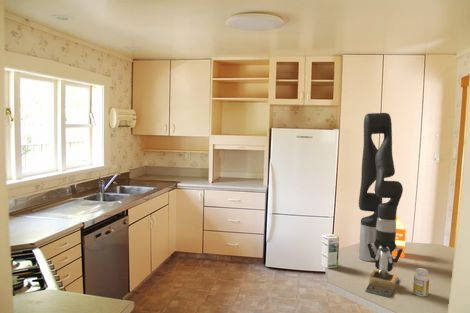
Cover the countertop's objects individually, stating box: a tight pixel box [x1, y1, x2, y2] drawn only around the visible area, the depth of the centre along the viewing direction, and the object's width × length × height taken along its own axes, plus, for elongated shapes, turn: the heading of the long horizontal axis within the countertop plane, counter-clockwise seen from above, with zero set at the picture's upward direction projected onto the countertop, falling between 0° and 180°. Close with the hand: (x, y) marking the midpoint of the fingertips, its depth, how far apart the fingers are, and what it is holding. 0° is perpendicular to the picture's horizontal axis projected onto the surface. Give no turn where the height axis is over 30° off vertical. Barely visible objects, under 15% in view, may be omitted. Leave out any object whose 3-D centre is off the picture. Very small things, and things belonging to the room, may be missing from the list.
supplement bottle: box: [412, 267, 430, 297], centre depth 142 cm, size 5×5×10 cm
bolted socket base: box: [365, 269, 399, 298], centre depth 149 cm, size 21×9×4 cm, turn 148°
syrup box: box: [320, 233, 340, 270], centre depth 168 cm, size 6×6×14 cm
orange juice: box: [392, 214, 407, 258], centre depth 188 cm, size 8×9×20 cm
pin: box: [377, 247, 391, 280], centre depth 148 cm, size 5×5×15 cm
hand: (383, 269), depth 149 cm, fingers closed on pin, 4 cm apart
